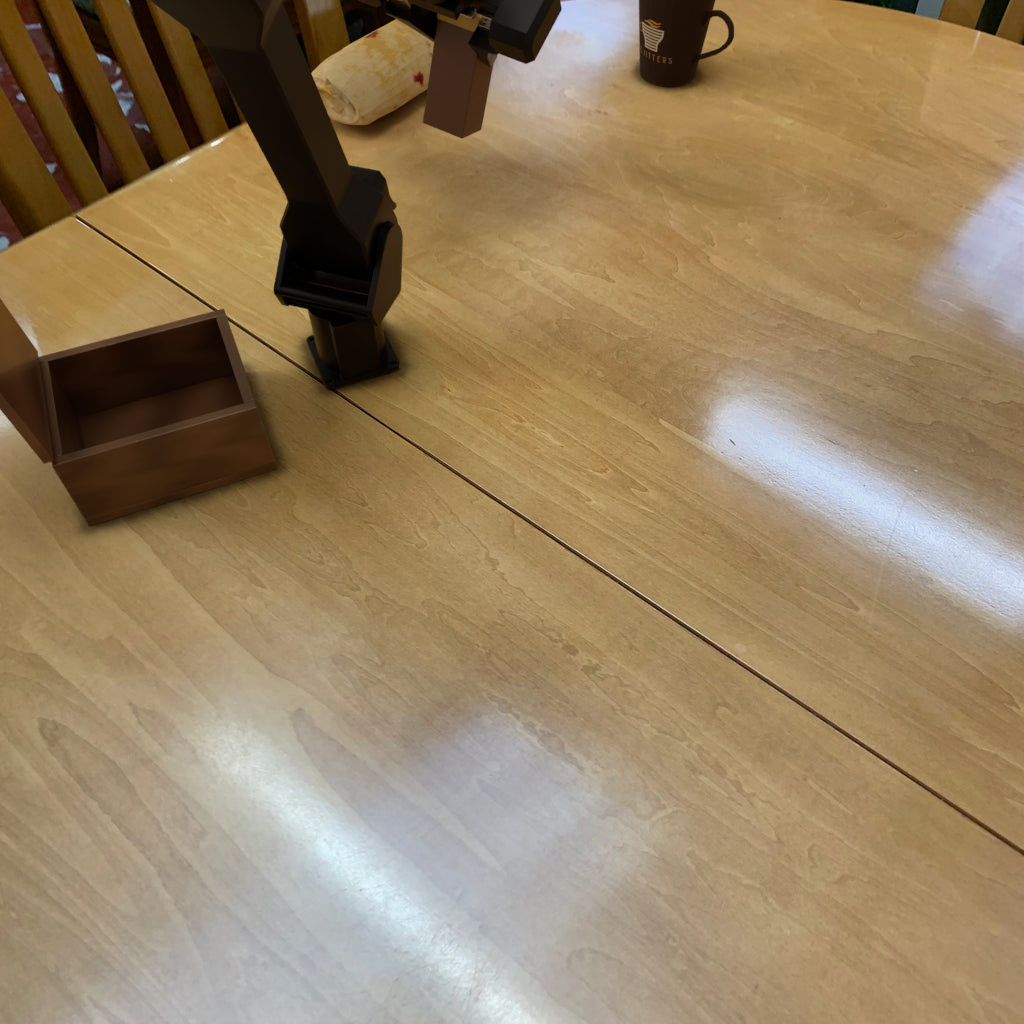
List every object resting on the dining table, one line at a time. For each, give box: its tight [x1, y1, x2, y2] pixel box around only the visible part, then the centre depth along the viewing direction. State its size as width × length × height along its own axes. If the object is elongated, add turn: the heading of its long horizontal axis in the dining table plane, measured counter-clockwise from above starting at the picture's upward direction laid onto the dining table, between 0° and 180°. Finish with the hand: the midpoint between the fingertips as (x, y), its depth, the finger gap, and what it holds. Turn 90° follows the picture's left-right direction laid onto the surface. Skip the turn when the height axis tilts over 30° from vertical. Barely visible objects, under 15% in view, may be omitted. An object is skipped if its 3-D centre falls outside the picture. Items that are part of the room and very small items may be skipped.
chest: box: [38, 308, 278, 527], centre depth 70 cm, size 14×12×7 cm
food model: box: [311, 18, 434, 126], centre depth 102 cm, size 10×7×20 cm
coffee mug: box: [638, 0, 735, 88], centre depth 102 cm, size 12×9×10 cm
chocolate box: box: [422, 11, 494, 140], centre depth 87 cm, size 4×5×12 cm
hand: (470, 53), depth 87 cm, fingers closed on chocolate box, 4 cm apart
